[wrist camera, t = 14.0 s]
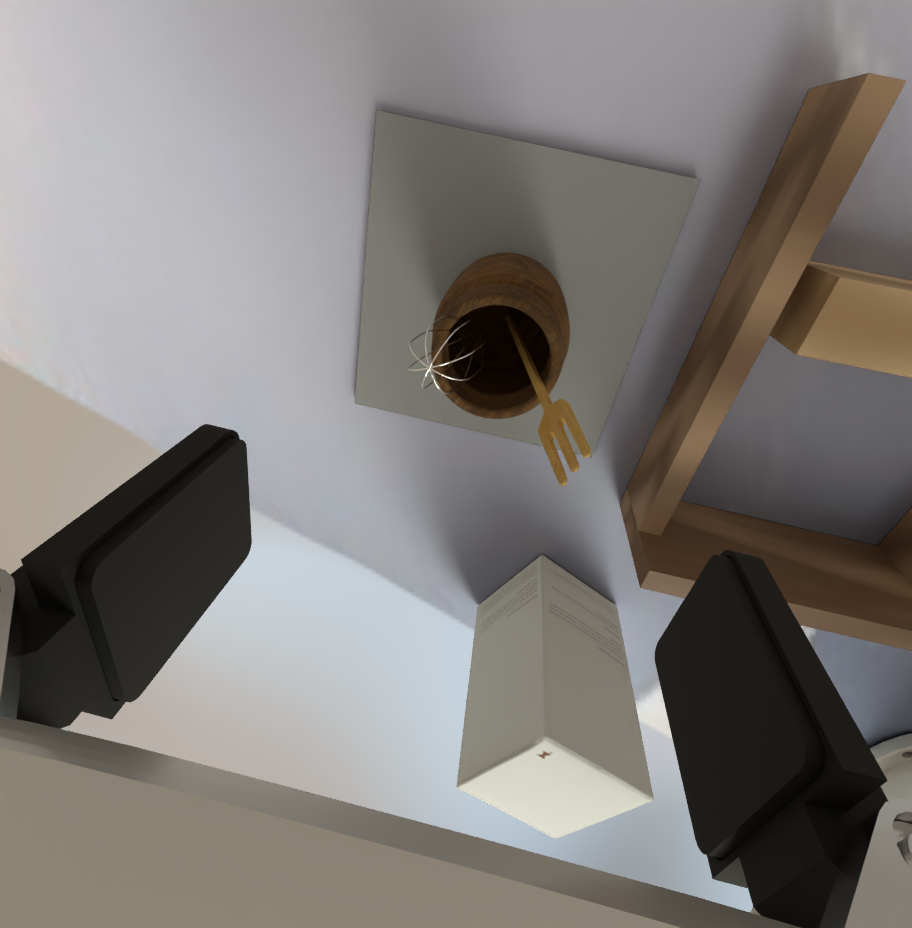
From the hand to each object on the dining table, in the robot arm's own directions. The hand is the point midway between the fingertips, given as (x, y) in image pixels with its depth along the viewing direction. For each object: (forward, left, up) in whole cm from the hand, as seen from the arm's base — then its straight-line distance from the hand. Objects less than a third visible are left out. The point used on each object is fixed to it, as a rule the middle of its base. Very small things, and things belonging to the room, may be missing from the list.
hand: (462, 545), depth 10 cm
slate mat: (0, 0, -18) cm, 18 cm away
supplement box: (-20, -8, -18) cm, 28 cm away
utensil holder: (0, 0, -18) cm, 18 cm away
